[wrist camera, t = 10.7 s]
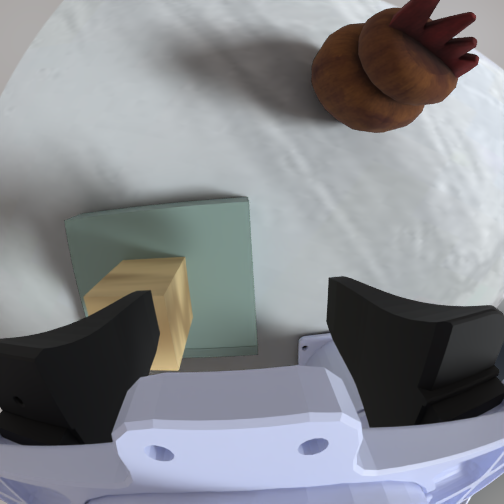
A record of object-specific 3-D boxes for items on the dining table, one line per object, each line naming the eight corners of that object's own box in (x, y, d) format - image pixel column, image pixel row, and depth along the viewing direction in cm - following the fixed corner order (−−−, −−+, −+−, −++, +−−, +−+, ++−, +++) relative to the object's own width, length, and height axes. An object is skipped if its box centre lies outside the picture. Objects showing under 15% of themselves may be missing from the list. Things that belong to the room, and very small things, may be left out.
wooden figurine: (285, 80, 18) (366, -45, 4) (339, 41, 18) (451, -67, 3) (347, 151, 20) (510, 149, 6) (396, 108, 19) (554, 77, 5)
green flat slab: (255, 333, 24) (258, 354, 21) (110, 336, 24) (98, 355, 21) (247, 196, 21) (249, 201, 18) (83, 213, 21) (63, 220, 18)
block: (192, 317, 20) (178, 370, 15) (134, 317, 20) (105, 367, 14) (185, 256, 19) (163, 295, 13) (122, 260, 19) (83, 296, 13)
